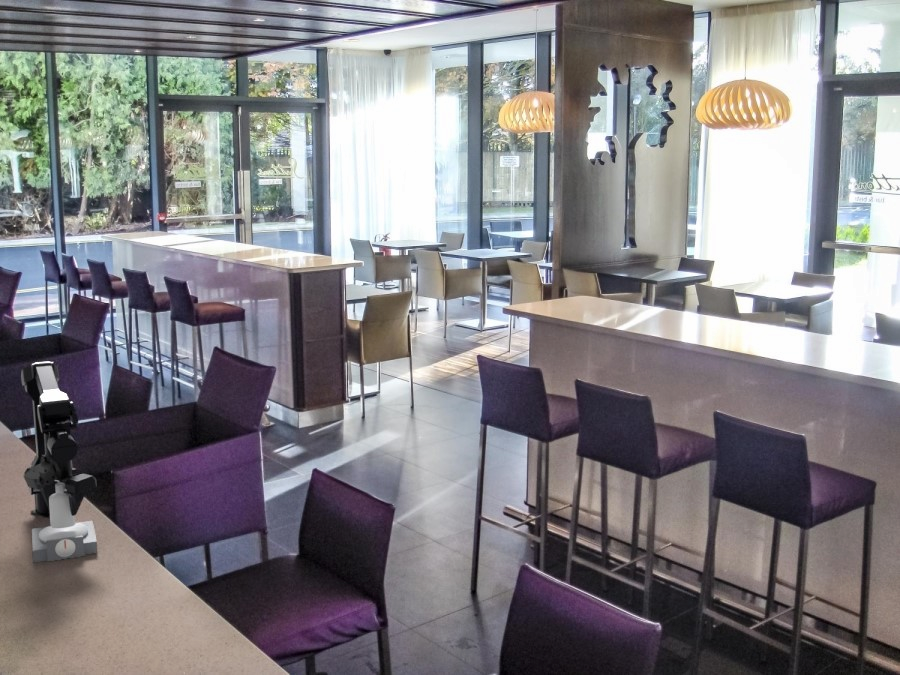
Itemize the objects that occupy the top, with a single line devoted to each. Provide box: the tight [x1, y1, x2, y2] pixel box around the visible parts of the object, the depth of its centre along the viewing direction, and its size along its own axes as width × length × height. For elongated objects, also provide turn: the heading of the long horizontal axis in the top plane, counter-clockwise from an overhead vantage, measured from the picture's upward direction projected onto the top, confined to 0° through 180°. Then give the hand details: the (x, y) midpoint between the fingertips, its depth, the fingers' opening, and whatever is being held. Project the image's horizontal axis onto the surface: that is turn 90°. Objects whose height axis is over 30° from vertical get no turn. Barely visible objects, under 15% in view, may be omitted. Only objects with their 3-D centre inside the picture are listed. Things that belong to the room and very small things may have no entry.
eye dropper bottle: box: [49, 482, 77, 528], centre depth 225 cm, size 4×6×12 cm
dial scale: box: [31, 520, 98, 564], centre depth 226 cm, size 15×14×5 cm
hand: (62, 511), depth 225 cm, fingers closed on eye dropper bottle, 8 cm apart
